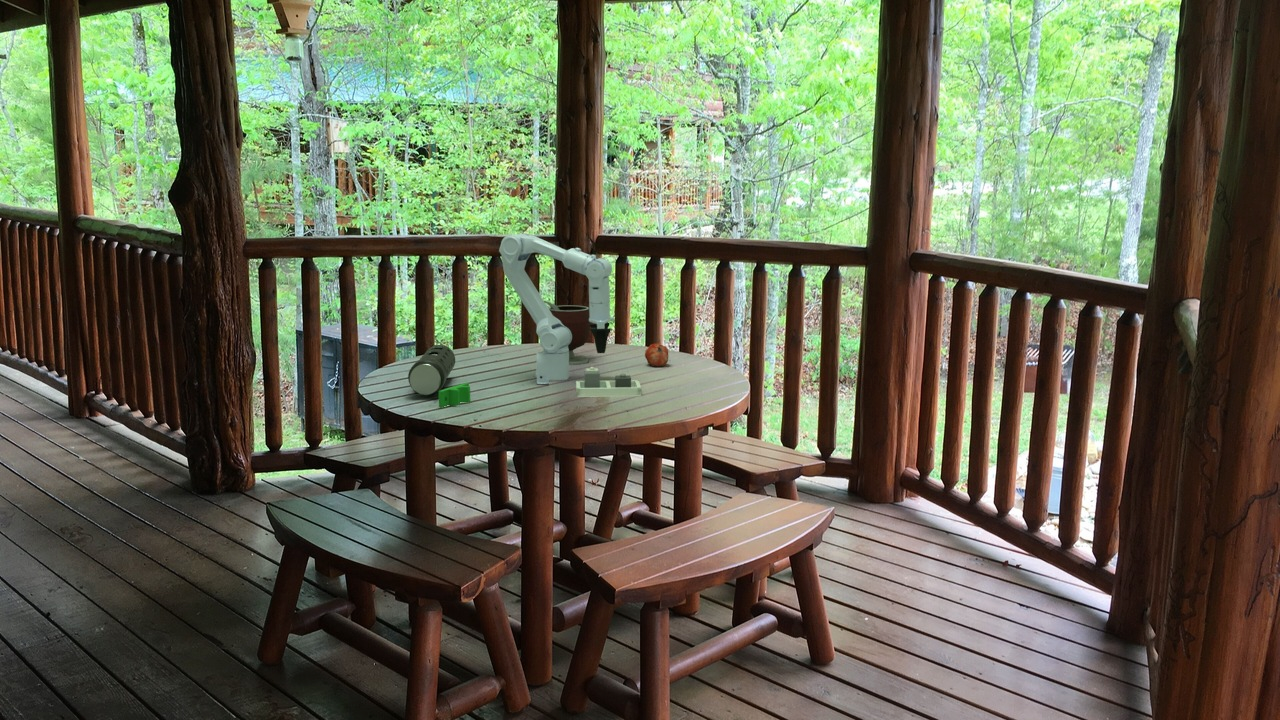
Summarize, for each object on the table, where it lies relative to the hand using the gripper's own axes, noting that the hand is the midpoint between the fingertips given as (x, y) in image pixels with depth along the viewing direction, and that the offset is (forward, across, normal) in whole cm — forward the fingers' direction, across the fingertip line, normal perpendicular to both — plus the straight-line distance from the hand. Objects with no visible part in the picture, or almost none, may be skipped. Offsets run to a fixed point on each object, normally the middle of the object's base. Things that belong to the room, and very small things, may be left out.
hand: (600, 350), depth 272 cm
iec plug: (+9, -14, +3) cm, 16 cm away
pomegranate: (+10, +28, -18) cm, 35 cm away
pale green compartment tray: (+10, -14, -1) cm, 17 cm away
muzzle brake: (+9, -2, +46) cm, 47 cm away
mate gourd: (+10, +36, +10) cm, 39 cm away
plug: (+9, -14, -5) cm, 17 cm away
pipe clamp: (+10, -21, +38) cm, 44 cm away
